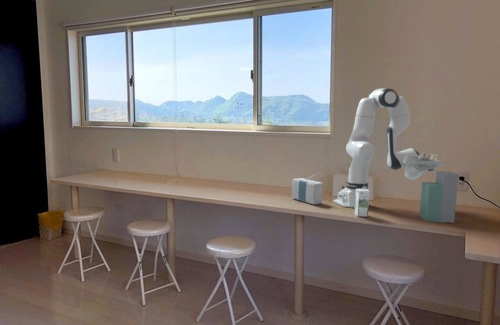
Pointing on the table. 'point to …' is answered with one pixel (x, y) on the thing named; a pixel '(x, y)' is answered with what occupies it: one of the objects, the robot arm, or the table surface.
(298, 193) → the stereo radio cassette player
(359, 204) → the syrup box
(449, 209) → the stepped riser
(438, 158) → the ash rod
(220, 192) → the table surface
